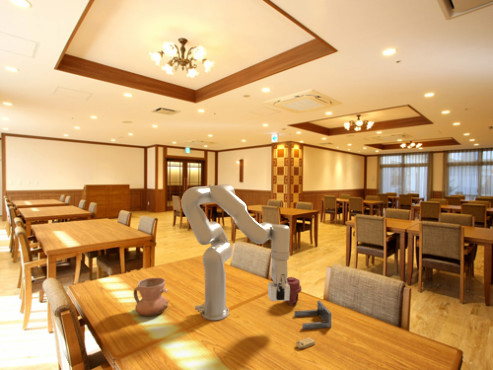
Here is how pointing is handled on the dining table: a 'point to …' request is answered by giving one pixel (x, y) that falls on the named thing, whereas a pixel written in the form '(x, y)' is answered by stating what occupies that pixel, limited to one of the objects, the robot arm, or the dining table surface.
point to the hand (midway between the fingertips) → (278, 296)
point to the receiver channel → (320, 311)
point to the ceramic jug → (151, 296)
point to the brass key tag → (305, 343)
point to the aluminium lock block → (273, 291)
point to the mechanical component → (293, 290)
